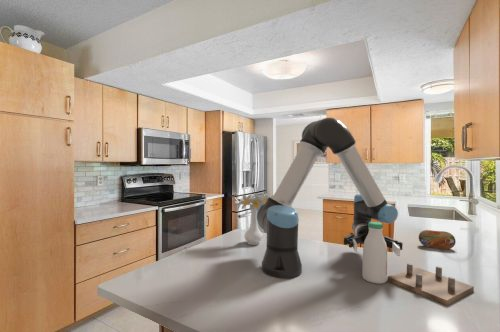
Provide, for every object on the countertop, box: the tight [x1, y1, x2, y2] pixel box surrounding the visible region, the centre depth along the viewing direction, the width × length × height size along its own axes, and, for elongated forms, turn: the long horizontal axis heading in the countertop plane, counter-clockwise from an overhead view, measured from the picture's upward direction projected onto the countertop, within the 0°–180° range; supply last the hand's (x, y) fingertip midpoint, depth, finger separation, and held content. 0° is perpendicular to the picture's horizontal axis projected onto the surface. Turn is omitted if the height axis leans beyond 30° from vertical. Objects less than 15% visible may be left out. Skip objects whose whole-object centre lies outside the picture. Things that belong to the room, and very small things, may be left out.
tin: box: [418, 229, 456, 250], centre depth 131 cm, size 15×3×8 cm, turn 69°
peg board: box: [386, 263, 475, 306], centre depth 89 cm, size 18×18×5 cm
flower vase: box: [234, 192, 268, 246], centre depth 132 cm, size 13×18×25 cm
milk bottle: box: [361, 221, 388, 285], centre depth 93 cm, size 8×8×20 cm
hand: (377, 250), depth 91 cm, fingers open, 13 cm apart
